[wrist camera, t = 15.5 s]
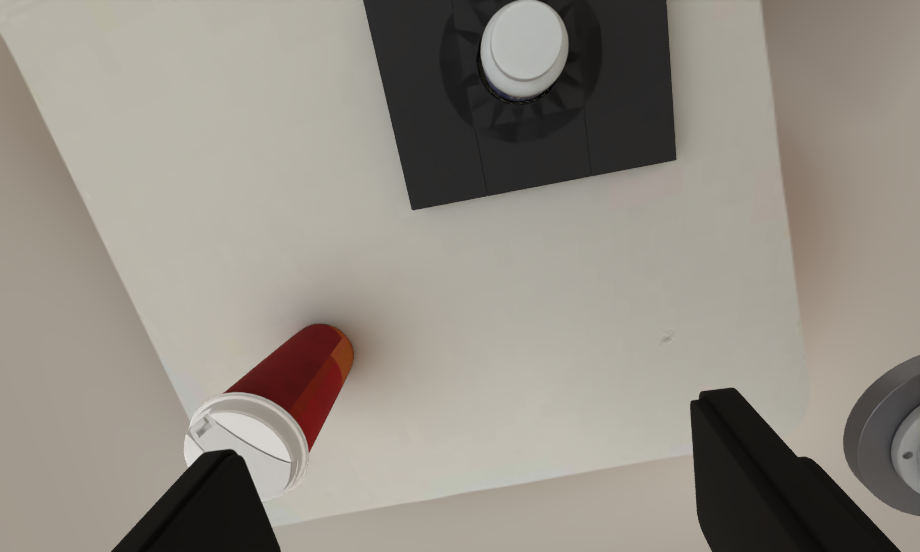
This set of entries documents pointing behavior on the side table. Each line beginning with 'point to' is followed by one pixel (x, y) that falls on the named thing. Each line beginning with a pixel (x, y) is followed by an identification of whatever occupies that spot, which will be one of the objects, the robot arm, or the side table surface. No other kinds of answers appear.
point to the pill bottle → (524, 49)
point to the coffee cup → (276, 409)
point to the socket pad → (528, 125)
